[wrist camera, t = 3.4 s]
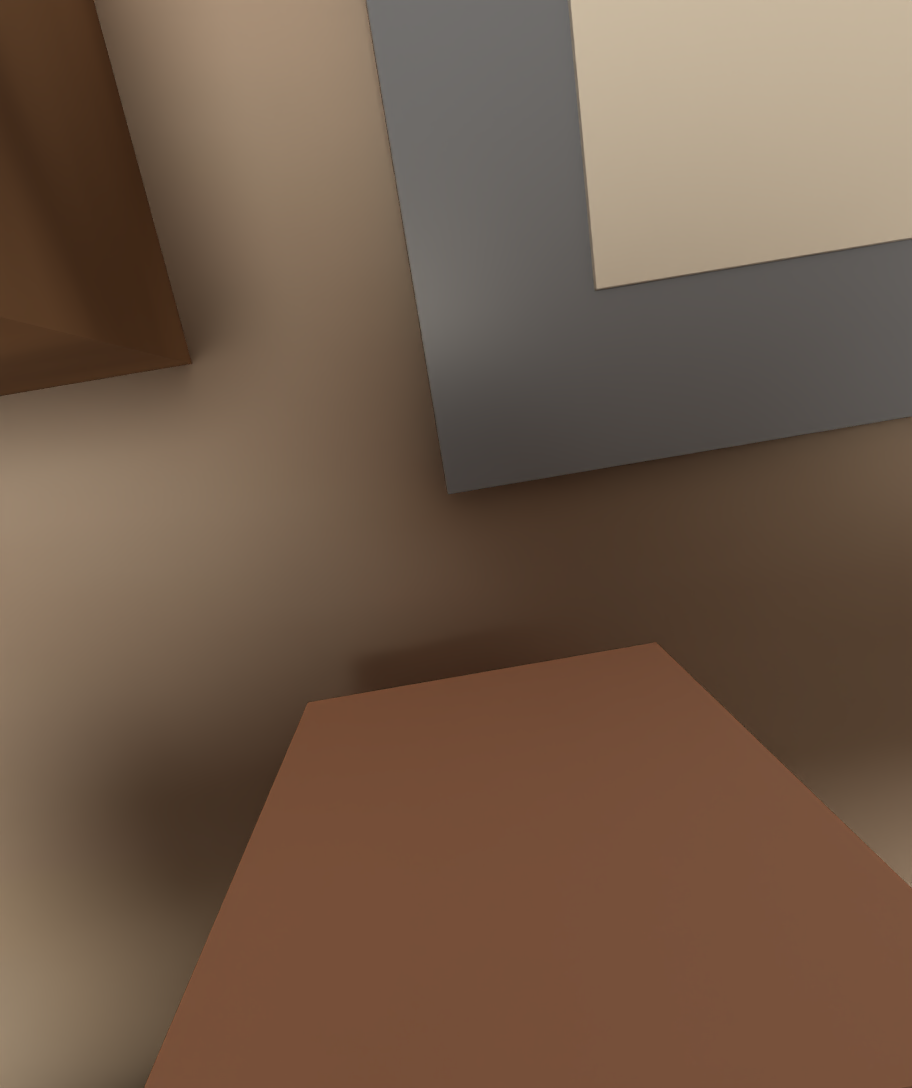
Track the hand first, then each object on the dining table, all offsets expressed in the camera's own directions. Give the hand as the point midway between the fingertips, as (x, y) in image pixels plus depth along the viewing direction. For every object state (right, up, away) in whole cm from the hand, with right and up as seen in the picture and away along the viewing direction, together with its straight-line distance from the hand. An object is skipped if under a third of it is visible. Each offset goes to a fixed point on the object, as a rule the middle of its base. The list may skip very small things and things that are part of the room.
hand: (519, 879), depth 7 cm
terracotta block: (0, 0, +1) cm, 1 cm away
